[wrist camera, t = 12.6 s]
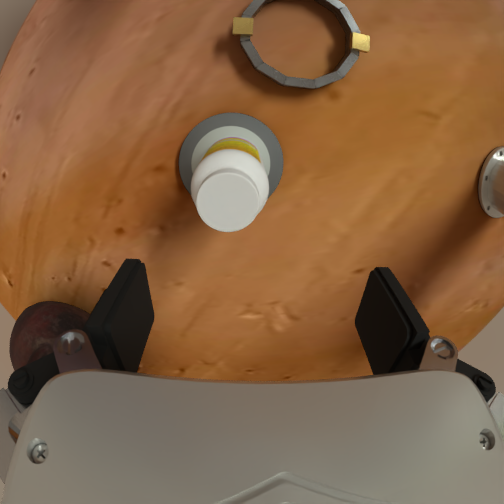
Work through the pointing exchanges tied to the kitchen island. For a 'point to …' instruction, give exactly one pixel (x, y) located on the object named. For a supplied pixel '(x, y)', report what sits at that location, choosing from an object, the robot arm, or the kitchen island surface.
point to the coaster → (231, 127)
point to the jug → (42, 330)
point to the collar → (352, 48)
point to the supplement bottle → (230, 184)
